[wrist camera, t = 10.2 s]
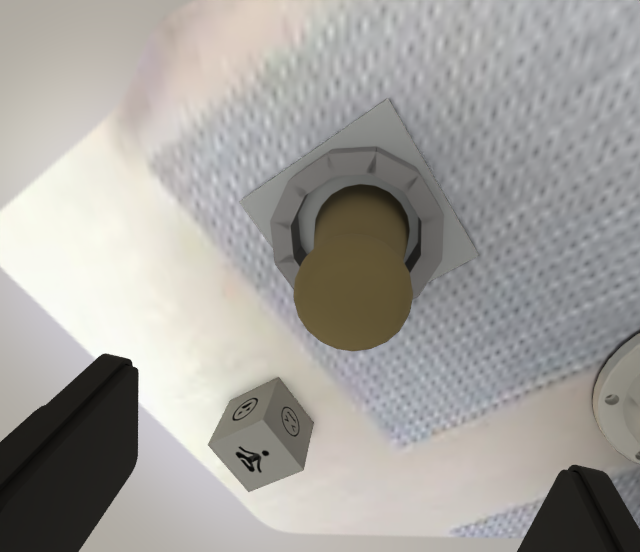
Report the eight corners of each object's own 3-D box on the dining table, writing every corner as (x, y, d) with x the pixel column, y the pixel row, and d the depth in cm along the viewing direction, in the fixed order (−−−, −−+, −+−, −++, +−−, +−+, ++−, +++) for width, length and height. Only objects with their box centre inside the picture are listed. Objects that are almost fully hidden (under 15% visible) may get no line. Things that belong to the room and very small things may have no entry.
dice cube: (230, 400, 36) (207, 444, 31) (279, 376, 34) (262, 419, 30) (265, 443, 37) (248, 492, 33) (313, 421, 36) (303, 470, 31)
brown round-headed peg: (348, 164, 26) (327, 209, 16) (430, 219, 27) (459, 295, 17) (296, 243, 29) (251, 325, 19) (373, 292, 29) (369, 396, 19)
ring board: (476, 250, 28) (488, 270, 25) (334, 325, 32) (329, 351, 29) (388, 98, 26) (388, 98, 22) (243, 198, 29) (226, 211, 26)
